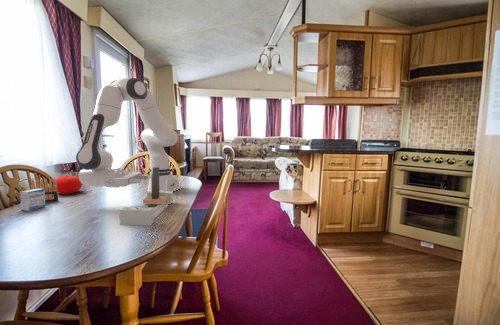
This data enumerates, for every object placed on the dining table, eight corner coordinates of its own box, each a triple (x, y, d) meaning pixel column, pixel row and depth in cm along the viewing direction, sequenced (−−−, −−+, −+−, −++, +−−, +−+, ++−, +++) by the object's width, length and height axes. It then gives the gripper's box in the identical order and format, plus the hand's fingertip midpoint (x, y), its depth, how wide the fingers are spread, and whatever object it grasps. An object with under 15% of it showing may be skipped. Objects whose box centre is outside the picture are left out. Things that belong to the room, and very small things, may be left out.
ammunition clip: (31, 203, 129) (29, 179, 127) (31, 202, 130) (30, 178, 129) (57, 201, 134) (56, 178, 133) (58, 200, 136) (57, 177, 134)
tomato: (61, 190, 156) (60, 173, 155) (85, 190, 159) (85, 173, 158) (49, 196, 142) (48, 177, 141) (76, 195, 145) (75, 177, 144)
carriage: (149, 199, 133) (148, 166, 131) (167, 200, 133) (167, 166, 131) (143, 203, 125) (142, 168, 123) (162, 204, 125) (162, 169, 123)
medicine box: (28, 211, 117) (27, 192, 116) (20, 210, 118) (19, 191, 117) (45, 206, 125) (44, 188, 124) (38, 205, 126) (37, 187, 125)
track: (150, 201, 139) (150, 189, 138) (173, 202, 139) (173, 190, 138) (119, 224, 105) (119, 209, 104) (150, 225, 105) (149, 209, 104)
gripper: (103, 175, 116) (135, 176, 117) (124, 168, 137) (151, 169, 137) (104, 189, 117) (135, 190, 118) (125, 180, 138) (151, 181, 138)
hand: (144, 179), depth 127 cm, fingers open, 8 cm apart
